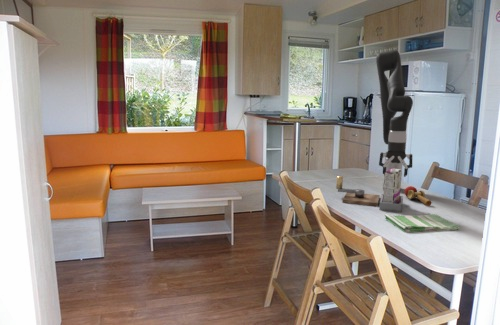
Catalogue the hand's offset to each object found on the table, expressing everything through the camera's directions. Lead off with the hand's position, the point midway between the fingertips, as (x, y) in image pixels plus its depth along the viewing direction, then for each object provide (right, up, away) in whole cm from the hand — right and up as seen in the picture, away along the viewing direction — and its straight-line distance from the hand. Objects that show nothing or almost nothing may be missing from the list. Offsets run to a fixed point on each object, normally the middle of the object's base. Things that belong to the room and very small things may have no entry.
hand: (394, 175), depth 184 cm
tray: (-1, -14, +3) cm, 15 cm away
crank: (-17, -10, +15) cm, 25 cm away
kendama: (+16, -13, +13) cm, 25 cm away
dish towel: (+3, -19, -22) cm, 29 cm away
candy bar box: (-1, -14, +3) cm, 14 cm away
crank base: (-12, -12, +13) cm, 21 cm away
